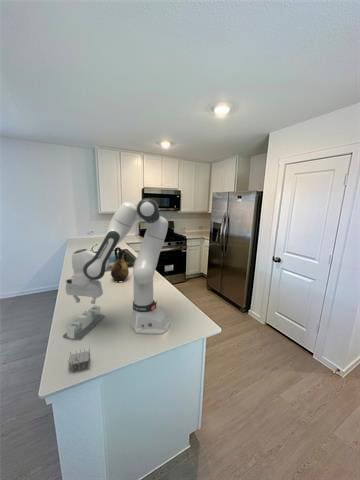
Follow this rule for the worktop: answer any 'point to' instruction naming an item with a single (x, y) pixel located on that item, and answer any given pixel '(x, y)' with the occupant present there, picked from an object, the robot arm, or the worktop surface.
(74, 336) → the rail plate
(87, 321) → the block
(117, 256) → the ceramic jug
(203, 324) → the worktop surface
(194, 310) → the worktop surface
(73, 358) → the building frame
